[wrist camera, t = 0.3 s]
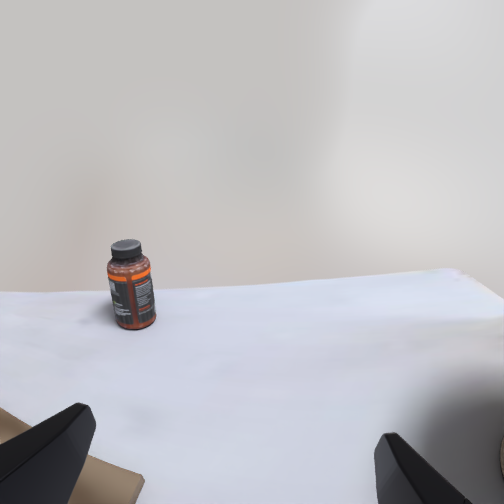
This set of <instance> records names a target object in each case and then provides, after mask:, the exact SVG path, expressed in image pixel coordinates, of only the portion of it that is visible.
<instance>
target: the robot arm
mask: <svg viewBox="0 0 504 504" xmlns="http://www.w3.org/2000/svg"><path fill="white" fill-rule="evenodd" d="M95 429H96V421H95V419H94V416H93V414H92V411H91V408H90V407H89V406H88V405H86V404H83V403H75V404H73V405H72V406H70V407H68V408H66V409H65V410H63V411H61V412H59V413H57V414H56V415H54V416H52V417H50V418H48V419H47V420H45V421H43V422H41V423H39V424H37V425H36V426H34V427H32V428H30V429H28V430H26V431H24V432H23V433H21V434H19V435H17V436H15V437H13V438H11V439H9V440H7V441H5V442H4V443H2V444H0V504H68V501H69V499H70V497H71V494H72V492H73V489H74V487H75V485H76V482H77V480H78V478H79V475H80V473H81V471H82V469H83V466H84V464H85V461H86V458H87V454H88V451H89V448H90V445H91V441H92V438H93V435H94V432H95ZM374 460H375V473H376V489H377V498H378V504H472V503H471V502H470V501H469V500H468V499H467V498H465V497H464V496H463V495H462V494H461V493H460V492H459V491H458V490H457V489H456V488H455V487H453V486H452V485H451V484H450V483H449V482H448V481H447V480H446V479H445V478H444V477H443V476H442V475H441V474H439V473H438V472H437V471H436V470H435V469H434V468H433V467H432V466H431V465H430V464H429V463H428V462H427V461H426V460H425V459H424V458H422V457H421V456H420V455H419V454H418V453H417V452H416V451H415V450H414V449H413V448H412V447H411V446H410V445H409V444H408V443H407V442H406V441H405V440H404V439H403V438H402V437H400V436H399V435H398V434H397V433H395V432H392V433H385V434H383V435H382V436H381V438H380V440H379V442H378V444H377V446H376V448H375V452H374Z"/></svg>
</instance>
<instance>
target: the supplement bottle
mask: <svg viewBox="0 0 504 504" xmlns="http://www.w3.org/2000/svg"><path fill="white" fill-rule="evenodd" d="M111 251H112V256H113V257H112V259H111V260H110V261H109V262H108V265H107V273H108V279H109V285H110V290H111V296H112V301H113V306H114V311H115V316H116V319H117V322H118V324H119V325H120V326H122V327H124V328H127V329H140V328H144V327H146V326H148V325H150V324H151V323H153V321H154V320H155V318H156V308H155V300H154V293H153V285H152V277H151V268H150V262H149V260H148V258H147V257H146V256H144V255H143V254H142V253H141V252H142V250H141V243H140V242H139V241H138V240H132V239H127V240H121V241H118V242H116V243H113V244H112V245H111Z"/></svg>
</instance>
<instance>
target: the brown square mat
mask: <svg viewBox="0 0 504 504" xmlns="http://www.w3.org/2000/svg"><path fill="white" fill-rule="evenodd" d="M30 428H32V427H31V426H30V425H28V424H26V423H24V422H23V421H21V420H19V419H18V418H16V417H14V416H13V415H11V414H10V413H8V412H6V411H5V410H3V409H2V408H0V444H2V443H4V442H5V441H7V440H9V439H11V438H13V437H15V436H17V435H19V434H21V433H23V432H24V431H26V430H28V429H30ZM144 482H145V480H144V478H143V476H142V475H141V474H138V473H135V472H132V471H129V470H126V469H123V468H120V467H118V466H115V465H112V464H110V463H107V462H105V461H102V460H100V459H97V458H95V457H92V456H90V455H88V454H87V458H86V461H85V464H84V466H83V469H82V471H81V473H80V475H79V478H78V480H77V482H76V485H75V487H74V489H73V492H72V494H71V497H70V499H69V501H68V504H135V503H136V500H137V498H138V496H139V493H140V491H141V489H142V487H143V484H144Z"/></svg>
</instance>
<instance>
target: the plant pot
mask: <svg viewBox="0 0 504 504" xmlns="http://www.w3.org/2000/svg"><path fill="white" fill-rule="evenodd" d="M500 461H501V469H502V473H503V476H504V437H503V440H502V444H501V451H500Z"/></svg>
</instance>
